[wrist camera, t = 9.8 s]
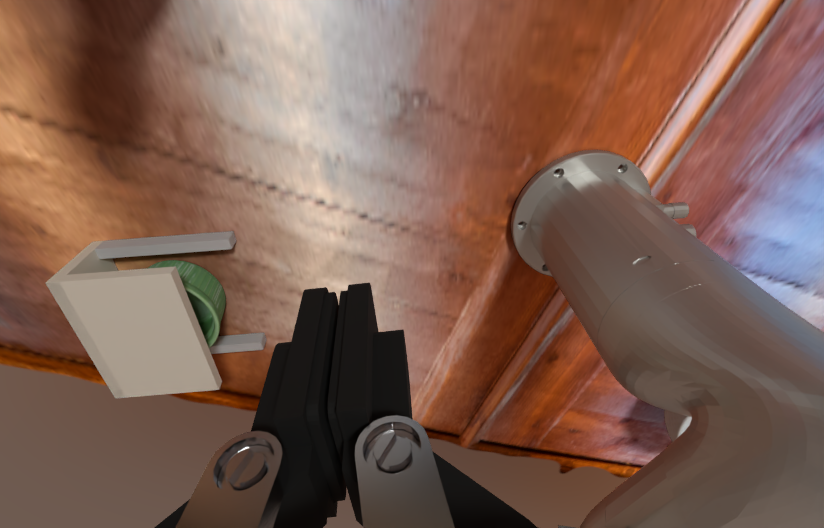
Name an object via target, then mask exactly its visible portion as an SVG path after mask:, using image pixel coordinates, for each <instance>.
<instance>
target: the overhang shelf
mask: <svg viewBox="0 0 824 528" xmlns="http://www.w3.org/2000/svg"><path fill="white" fill-rule="evenodd" d="M235 243H236V238H235V235H234V231H230V232H216V233H203V234H189V235H176V236H162V237H149V238H135V239H122V240H108V241H95V242H91V243H90V244H89V245H88V246H87V247H86V248H85V249H83V250H82V251H81V252H80V253H79V254H78V255H77V256H75V257H74V258H73V259H72V260H71V261H70V262H69V263H68V264H66V265H65V266H64V267H63V268H62V269H61V270H60V271H58V272H57V273H56V274H55V275H54V276H53V277H52V278H50V279H49V280H48V281H47V282H46V285H47V287H48V288H49V290H50V291H51V293H52V295H53V296H54V298H55V300H56V301H57V303H58V305H59V306H60V308H61V310H62V311H63V313H64V315H65V316H66V318H67V320H68V321H69V323H70V324H71V326H72V328H73V329H74V331H75V333H76V334H77V336H78V338H79V339H80V341H81V343H82V344H83V346H84V348H85V349H86V351H87V353H88V354H89V356H90V357H91V359H92V361H93V362H94V364H95V366H96V367H97V369H98V371H99V372H100V374H101V376H102V377H103V379H104V381H105V382H106V384H107V385H108V387H109V389H110V390H111V392H112V394H113V395H114V397H115V398H125V397H138V396H149V395H160V394H173V393H185V392H197V391H209V390H219V388H220V386H221V383H222V380H221V378H220V375H219V373H218V370H217V368H216V365H215V363H214V360H213V358H212V355H211V354H216V353H229V352H241V351H253V350H263V349H264V346H265V343H266V337H265V333H253V334H241V335H229V336H218V337H217V340H216V341H215V343H214V344H213V345H212V346H211V347H210V348H208V345H207V343H206V340H205V338H204V335H203V333H202V330H201V328H200V325H199V323H198V320H197V318H196V315H195V313H194V310H193V308H192V306H191V303H190V301H189V298H188V296H187V293H186V291H185V288H184V286H183V283H182V281H181V278H180V276H179V273H178V271H177V268H176V266H175V267H162V268H149V269H136V270H123V271H118V269H117V267H116V265H115V263H114V261H113V259H112V258H121V257H134V256H147V255H161V254H174V253H187V252H201V251H214V250H227V249H232V248H233V246H234V244H235Z"/></svg>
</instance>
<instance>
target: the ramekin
mask: <svg viewBox="0 0 824 528" xmlns="http://www.w3.org/2000/svg"><path fill="white" fill-rule="evenodd" d="M175 266H176V268H177V271H178V273H179V276H180V278H181V281H182V283H183V286H184V288H185V291H186V293H187V296H188V298H189V301H190V303H191V306H192V308H193V310H194V313H195V315H196V318H197V320H198V323H199V325H200V328H201V330H202V333H203V335H204V338H205V340H206V343H207V345H208V348H210V347H211V346H212V345H213V344H214V343H215V341H216V340H217V337H218V335H219V331H220V323H221V320H222V317H223V313H224V310H225V305H226V298H225V293H224V290H223V287H222V286H221V284H220V283H219V281H218V280H217V279H216V278H215V277H214V276H213V275H212V274H211V273H209V272H208V271H207V270H205V269H203V268H202V267H200V266H197V265H195V264H192V263H189V262H185V261H177V260H169V261H162V262H158V263H156V264H153V265H152V266H150V267H148V268H147V269H149V268H162V267H175Z"/></svg>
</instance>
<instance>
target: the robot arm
mask: <svg viewBox="0 0 824 528" xmlns="http://www.w3.org/2000/svg"><path fill="white" fill-rule="evenodd" d="M556 169H558V170H557V171H556V172H555V170H556ZM688 214H689V207H688V205H687V203H685V202H678V203H669V204H662V203H661V202H659V201H658V200H657V199H655V198H654V197H653V196H651V190H650V187H649V184H648V181H647V178H646V177H645V176H644V174H643V173H642V171H641V170H640V169H639V168H638V167H637V166H636V165H635V164H633V163H632V162H631V161H629V160H628V159H626V158H625V157H623V156H621V155H619V154H616V153H613V152H610V151H603V150H585V151H579V152H575V153H572V154H568V155H566V156H563V157H561V158H559V159H557V160H555V161H553V162H552V163H550V164H548V165H547V166H545V167H544V168H542V169H541V170H540V171H539V172H538V173H537V174H536V175H535V176H534V177H532V178H531V180H530V181H529V182H528V183H527V185H526V186H525V187H524V188H523V190H522V192H521V193H520V195H519V197H518V199H517V201H516V203H515V206H514V209H513V212H512V219H511V234H512V238H513V242H514V245H515V247H516V249H517V251H518V253H519V255H520V256H521V257H522V259H523V260H524V261H525V262H526V263H527V264H528V265H529V266H530V267H532V268H533V269H534V270H536V271H538V272H540V273H542V274H544V275H548V276H552V277H553V278H554V279H555V281H556V283H557V284H558V286H559V288H560V289H561V291H562V293H563V294H564V296H565V297H566V299H567V301H568V302H569V304H570V306H571V307H572V309H573V311H574V312H575V314H576V316H577V317H578V319H579V321H580V322H581V324H582V326H583V327H584V329H585V330H586V332H587V334H588V335H589V337H590V339H591V340H592V342H593V344H594V345H595V347H596V349H597V350H598V352H599V354H600V355H601V357H602V359H603V360H604V362H605V363H606V365H607V367H608V368H609V370H610V372H611V373H612V374H613V376H614V377H615V378H616V380H617V381H618V382H619V383H620V384H621V385H622V386H623V387H624V388H625V389H626V390H627V391H629V392H630V393H631V394H633V395H634V396H635V397H637V398H638V399H640V400H642V401H644V402H646V403H648V404H650V405H653V406H655V407H658V408H661V409H664V410H666V411H670V412H673V413H677V414H681V415H685V416H689V417H692V420H691V422H690V425H689V426H688V428H687V429H686V430H685V431H684V432H683V433H682V434H681V435H680V436H679V437H678V438H677V439H676V440H674V441H673V442H672V443H671V444H669V445H668V446H667V448H666V449H665V450H664V451H663V452H662V453H660V454H659V455H658V456H656V457H655V458H654V459H653V460H651V461H650V462H649V463H648V464H646V465H645V466H644V467H642V468H641V469H640V470H639V471H637V472H636V473H635V474H634V475H632V476H631V477H630V478H628V479H627V480H626V481H625V482H623V483H622V484H621V485H620V486H618V487H617V488H616V489H615V490H614V491H613V492H611V493H610V494H609V495H608V496H606V497H605V498H604V499H603V500H602V501H601V502H600V503H599V504H598V505H596V506H595V507H594V509H592V510H591V511H590V513H589V514H588V515H587V517H586V518H585V519H584V521H583V523H582V524H581V526H580V528H824V332H823V331H821V330H820V329H818V328H816V327H815V326H813V325H812V324H810V323H809V322H808V321H806V320H805V319H803V318H802V317H800V316H799V315H798V314H796V313H795V312H793V311H792V310H790V309H789V308H787V307H786V306H785V305H783V304H782V303H781V302H779V301H778V300H777V299H775V298H774V297H772V296H771V295H770V294H768V293H767V292H766V291H764V290H763V289H762V288H760V287H759V286H758V285H757V284H755V283H754V282H753V281H751V280H750V279H749V278H748V277H746V276H745V275H744V274H742V273H741V272H740V271H739V270H737V269H736V268H735V267H733V266H732V265H731V264H729V263H728V262H727V261H726V260H724V259H723V258H722V257H720V256H719V255H718V254H717V253H715V252H714V251H713V250H712V249H710V248H709V247H708V246H706V245H705V244H704V243H703V242H701V241H700V240H699V239H697V238H696V231H695V228H694V227H693V225H691V224H678V223H677V222H676V221H674V220H673V219H677V218H685V217H687V215H688ZM520 222H521V223H520ZM346 486H347V489H348V493H349V496H350V500H351V503H352V507H353V510H354V513H355V517H356V520H357V521H358V522H359V523H360V524H361V525H362V526H363V528H537V527H536V526H535V525H534V524H533V523H532V522H531V521H530V520H528V519H527V518H525V517H524V516H523V515H521V514H520V513H518V512H517V511H516V510H514V509H513V508H512V507H510V506H509V505H507V504H506V503H504V502H503V501H501V500H500V499H499V498H497V497H496V496H495V495H493V494H492V493H490V492H489V491H487V490H486V489H485V488H483V487H481V485H479V484H478V483H476V482H475V481H473V480H472V479H471V478H469V477H468V476H466V475H465V474H463V473H462V472H461V471H459V470H458V469H456V468H455V467H454V466H452V465H451V464H450V463H448V462H447V461H445V460H444V459H442V458H441V457H440V456H438V455H437V454H435V453H434V452H433V451H432V449H431V445H430V442H429V438H428V436H427V434H426V432H425V430H424V428H423V427H422V426H421V425H420V424H419V423H418V422H416V421H414V420H413V419H412V407H411V395H410V383H409V372H408V362H407V354H406V345H405V337H404V330H395V331H386V332H378V327H377V321H376V315H375V309H374V303H373V296H372V290H371V285H370V283H362V284H353V285H349V286H348V291H341V293H340V301H339V305H338V300H337V296H336V293H335V292H331V293H329V292H328V290H327V288H326V287H325V288H316V289H307V290H304V292H303V296H302V300H301V304H300V309H299V313H298V317H297V321H296V325H295V329H294V333H293V338H292V342H286V343H278V344H277V345H276V347H275V349H274V352H273V356H272V359H271V363H270V366H269V370H268V373H267V377H266V380H265V384H264V387H263V391H262V394H261V398H260V401H259V405H258V409H257V412H256V416H255V419H254V423H253V426H252V430H251V432H247V433H243V434H241V435H238V436H236V437H234V438H232V439H231V440H229V441H228V442H226V443H225V444H224V445H223V446H222V447H220V448H219V450H217V451H216V452H215V454H214V455H213V457H212V458H211V460H210V461H209V463H208V465H207V467H206V469H205V471H204V473H203V475H202V477H201V478H200V480H199V482H198V484H197V486H196V488H195V490H194V493H193V494H192V496H191V498H190V499H189V500H188V501H187V502H186V503H184V504H183V505H182V506H181V507H180V508H178V509H177V510H176V511H175V512H173V513H172V514H171V515H170V516H168V517H167V518H166V519H165V520H163V521H162V522H161V523H160V524H158V525H157V526H156V527H155V528H323V527H324V526H325V525H326V523H327V518H328V517H336V513H337V501H342V500H345V497H346ZM558 528H574V527H567V526H558Z"/></svg>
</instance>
